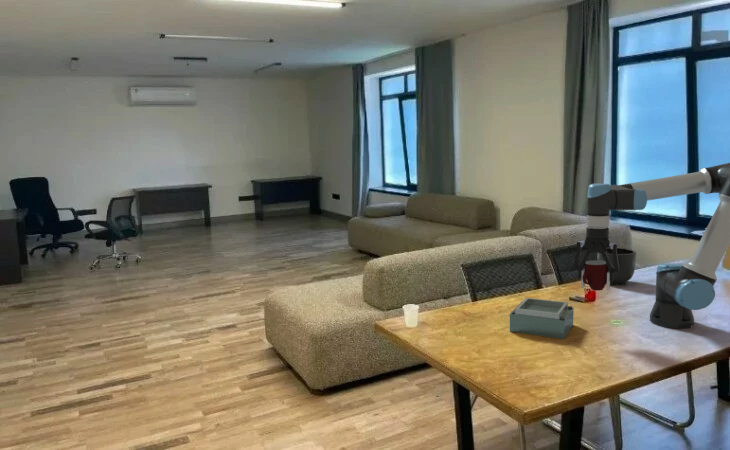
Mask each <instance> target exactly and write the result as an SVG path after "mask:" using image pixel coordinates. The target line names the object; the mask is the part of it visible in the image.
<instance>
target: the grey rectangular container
mask: <svg viewBox="0 0 730 450" xmlns="http://www.w3.org/2000/svg"><path fill="white" fill-rule="evenodd" d="M574 310H575V309H574V307H573V306H572V305H569V302H568V301H561V300H560V301H558V300H550V299H541V298H534V297H533V298H531V297H526V298H524V299H523V300H521V302H520V303H518V305H516V307H514V309H513V310H511V311H510V313H509V332H511V333H518V334H519V333H520V334H523V335H524V334H525V335H531V336H538V337H539V336H541V337H547V338H553V339H560V340H565V339H566V337H567V336H568V334H569V332H570V330H571V329H572V328H573V326H574Z"/></svg>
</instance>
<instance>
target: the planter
mask: <svg viewBox="0 0 730 450" xmlns="http://www.w3.org/2000/svg"><path fill="white" fill-rule="evenodd" d="M612 250H613V249H611V247H607V248H606V251H607V254H608V257H609V259H610V262H611V264H612V266H613V268H615V267H614V260H613V253H612ZM596 253H597V252H596ZM596 255H597V256H596V257H597V259H596V260H601V261H605V260H604V257H603V255H602V253H597V254H596ZM617 255H618V262H619V271H618V272H614V276H613V281H610V286H623V285H626V284H627V282H629V281H630V280H631V279H632V277H633V276H634V274H635V270H636V265H637V251H636V250H634V249H631V248H624V247H617ZM608 271H609V269H608ZM606 284H607V282H606Z"/></svg>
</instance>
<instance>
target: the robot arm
mask: <svg viewBox="0 0 730 450" xmlns="http://www.w3.org/2000/svg"><path fill="white" fill-rule="evenodd" d="M697 193H699V194H700V193H703V194H705V195H710V194H718V198H719V202H718V205H717V207H716V209H715V211H714V213H713V214H712V217H711V219H710V221H709V223H708V225H707V226H706V229H705V231H704V233H703V234H702V237H701V238H700V241H698V244H697V246H696V248H695V250H694V252H693V254H692V256H691V258H690V260H689V262H686V263H678V262H675V263H674V262H673V263H670V262H669V263H660V264H658V265H657V266H656V272H655V274H656V278H655V279H656V280H655V302H654V303H653V306H652V309H651V311H650V313H649V321H650V323H652V324H654V325H657V326H660V327H662V328H670V329H687V328H686V327H689V328H692V327H694V326H693V325H695V317H694V315H693V311H700V310H702V309H705V308H707V307H709V306H710V305H711V304H712V303H713V301H714V300H715V297H716V290H715V287H714V286H715V284H716V282H717V279H718V277H717V275H716V271H717V269H718V267H719V266H720V263H721V261H722V260H723V258H724V256H725V255H726V252H727V250H728V248H729V246H730V162H727V163H721V164H718V165H713V166H708V167H702V168H700V169H699V171H696V172H691V173H689V172H688V173H685V174H684V173H683V174H678V175H672V176H666V177H661V178H660V177H659V178H654V179H649V180H641V181H636V182H629V183H623V184H609V183H591V184H589V185H588V188H587V195H586V196H587V197H586V200H587V202H586V203H587V204H586V205H587V207H586V210H587V211H586V226H587V227H586V228H585V231H586V233H585V234H586V235H585V239H584V240H582V241H581V240H578V241H577V242H576V247H577V248H576V253H575V258H574V262H573V266H572V267H573V268H574V269H577V270H578V279H581V281H580V282H581V283H580V288H582V289H584V287H585V285H586V284H585V283H584V282H583V279H582V278H583V274H584V272H585V263H586V261H588V259H589V258H590V255H591V253H593V254H594V253H602V255H603V257H604V260H605V262H606V264H607V267H608V269H609V271H608V272H607V283H606V291H607V292H608V291H610V289H611V287H610V286H611V285H610V281H613V276H614V272H618V271H619V262H618V255H617V248H618V246H619V244H618V243H617V242H615V243H613V242H611V241H610V239H609V237H610V236H609V235H610V232H609V231H610V228H609V226H610V216H611V215H610V211H633V212H634V211H642V210H644V209H646V207H647V204H648V201H653V200H659V199H660V200H661V199H667V198H673V197H679V196H685V195H692V194H697ZM584 245H585V247H586V248H587V251H586V253H585V255H584V257H583V258H582V261H581V262H580V257H581V254H582V253H581V252H582V248H583V247H584ZM606 248H611V249H613V250H612V253H613V260H614V267H615V268H613V266H612V264H611V262H610V259H609V257H608V254H607V251H606ZM579 262H580V264H579ZM691 326H692V327H691Z"/></svg>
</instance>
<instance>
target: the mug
mask: <svg viewBox="0 0 730 450" xmlns="http://www.w3.org/2000/svg"><path fill="white" fill-rule="evenodd" d="M584 269H585V272H584V274H583V278H582V279H583V282H584V283H585V285H588V286H589V288H590V290H592V291H597V292H598V291H602V290H604V288H605V286H607V283H606V282H607V272H608V267H607V264H606V262H605V261H601V260H597V259H596V260H587V261H586V263H585V265H584Z"/></svg>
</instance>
